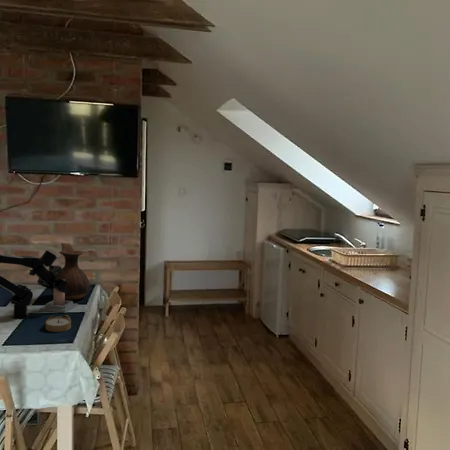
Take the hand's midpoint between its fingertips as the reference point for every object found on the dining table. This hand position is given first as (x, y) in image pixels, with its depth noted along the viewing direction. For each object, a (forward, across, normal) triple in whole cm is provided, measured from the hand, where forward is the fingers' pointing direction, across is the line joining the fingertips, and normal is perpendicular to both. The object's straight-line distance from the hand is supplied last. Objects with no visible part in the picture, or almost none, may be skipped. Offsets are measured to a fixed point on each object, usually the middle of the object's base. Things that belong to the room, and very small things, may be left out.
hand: (61, 291), depth 267 cm
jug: (+18, +14, -5) cm, 23 cm away
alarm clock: (-8, -26, +21) cm, 34 cm away
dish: (+5, 0, +7) cm, 9 cm away
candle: (+4, 0, +6) cm, 8 cm away
